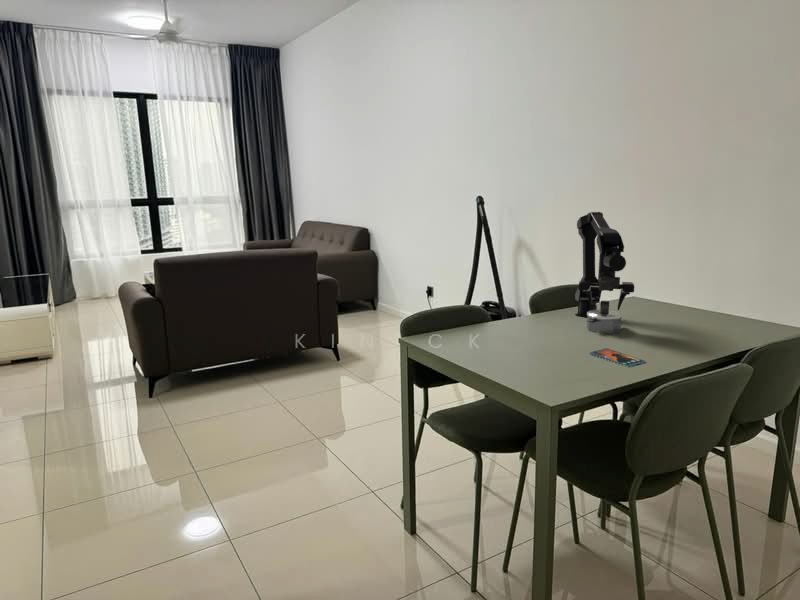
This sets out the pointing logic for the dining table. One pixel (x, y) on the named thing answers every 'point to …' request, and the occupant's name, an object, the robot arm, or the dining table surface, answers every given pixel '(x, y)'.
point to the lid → (604, 313)
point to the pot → (603, 325)
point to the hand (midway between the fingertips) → (604, 309)
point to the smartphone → (617, 357)
